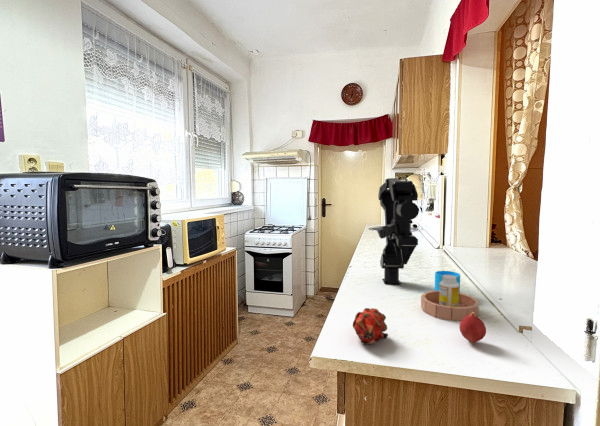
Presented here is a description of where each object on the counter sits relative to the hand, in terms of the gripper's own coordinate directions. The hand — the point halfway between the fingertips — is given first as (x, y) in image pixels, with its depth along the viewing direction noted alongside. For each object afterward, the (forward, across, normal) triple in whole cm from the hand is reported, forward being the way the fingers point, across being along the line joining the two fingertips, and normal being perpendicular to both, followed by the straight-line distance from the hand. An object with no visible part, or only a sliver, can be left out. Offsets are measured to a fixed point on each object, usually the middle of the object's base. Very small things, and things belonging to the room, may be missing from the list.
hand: (401, 261), depth 112 cm
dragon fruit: (+13, +33, -15) cm, 39 cm away
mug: (+13, -4, +17) cm, 22 cm away
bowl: (+13, +12, +12) cm, 21 cm away
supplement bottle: (+12, +12, +12) cm, 21 cm away
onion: (+13, +33, +10) cm, 37 cm away
